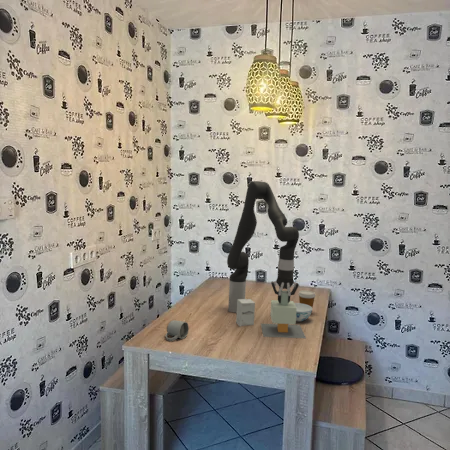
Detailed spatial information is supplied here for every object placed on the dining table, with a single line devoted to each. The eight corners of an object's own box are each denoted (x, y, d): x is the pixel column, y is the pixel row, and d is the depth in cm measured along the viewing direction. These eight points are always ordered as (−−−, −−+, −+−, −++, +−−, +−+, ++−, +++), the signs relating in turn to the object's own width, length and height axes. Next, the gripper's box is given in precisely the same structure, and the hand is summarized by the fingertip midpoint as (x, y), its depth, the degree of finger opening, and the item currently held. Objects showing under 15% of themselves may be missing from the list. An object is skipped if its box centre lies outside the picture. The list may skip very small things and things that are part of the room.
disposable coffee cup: (314, 316, 238) (315, 295, 237) (296, 315, 240) (298, 293, 239) (314, 311, 247) (315, 291, 246) (297, 309, 249) (298, 289, 248)
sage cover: (272, 323, 206) (274, 294, 204) (270, 315, 217) (271, 288, 215) (295, 324, 206) (297, 295, 204) (292, 316, 217) (294, 289, 215)
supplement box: (240, 327, 216) (241, 303, 215) (235, 322, 224) (236, 298, 222) (254, 326, 218) (255, 302, 217) (249, 321, 226) (250, 298, 224)
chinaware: (301, 315, 239) (302, 301, 239) (317, 324, 226) (318, 310, 225) (277, 317, 234) (278, 303, 233) (291, 327, 220) (292, 312, 219)
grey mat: (263, 338, 203) (263, 336, 203) (260, 325, 221) (260, 323, 221) (306, 340, 203) (306, 338, 203) (299, 326, 221) (299, 325, 221)
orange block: (278, 332, 210) (278, 323, 209) (277, 328, 214) (277, 319, 214) (287, 332, 210) (288, 323, 209) (286, 329, 214) (286, 320, 214)
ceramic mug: (174, 332, 207) (174, 316, 206) (189, 335, 203) (189, 320, 202) (161, 339, 198) (161, 323, 197) (175, 343, 194) (176, 327, 193)
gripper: (271, 269, 205) (269, 304, 207) (301, 270, 204) (299, 305, 207) (270, 265, 212) (268, 299, 214) (299, 266, 212) (297, 301, 214)
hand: (283, 302), depth 210 cm, fingers closed on sage cover, 3 cm apart
